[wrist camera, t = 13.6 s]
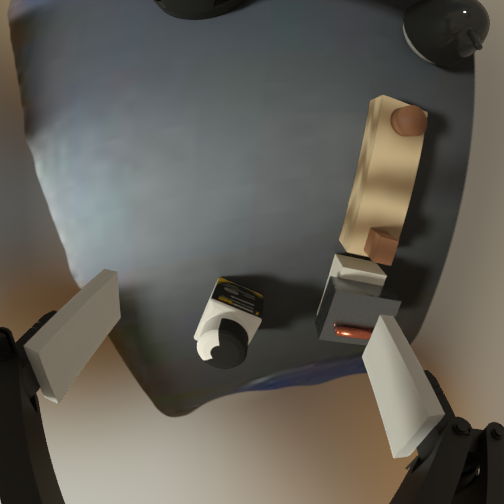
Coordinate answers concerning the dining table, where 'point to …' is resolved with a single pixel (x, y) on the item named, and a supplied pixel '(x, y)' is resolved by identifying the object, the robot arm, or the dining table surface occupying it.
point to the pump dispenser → (446, 29)
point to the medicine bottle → (228, 324)
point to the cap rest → (355, 271)
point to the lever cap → (353, 310)
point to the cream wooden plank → (384, 179)
